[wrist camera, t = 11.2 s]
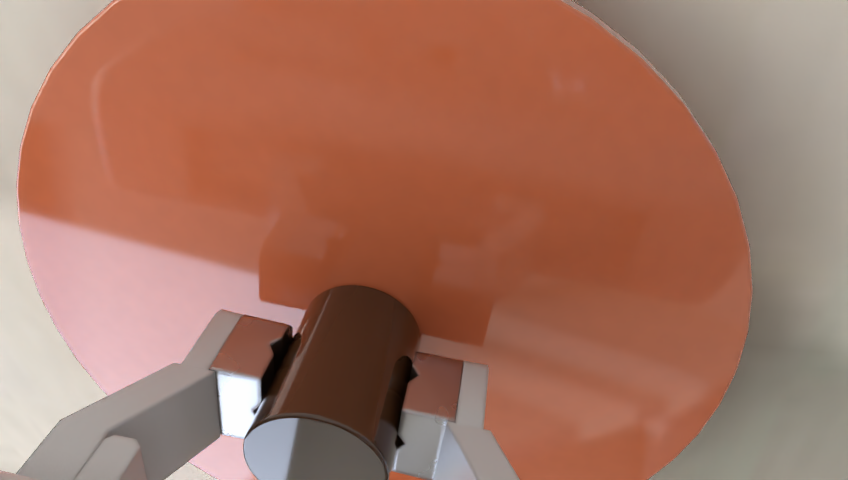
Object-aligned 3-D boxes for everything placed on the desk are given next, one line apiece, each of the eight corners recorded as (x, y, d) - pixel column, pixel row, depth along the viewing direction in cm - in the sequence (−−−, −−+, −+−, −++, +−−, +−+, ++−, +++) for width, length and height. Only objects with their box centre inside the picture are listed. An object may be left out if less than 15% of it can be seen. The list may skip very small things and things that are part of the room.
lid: (-34, -146, 10) (-373, -134, 7) (904, 16, 10) (1153, 140, 6) (109, 437, 19) (1, 589, 15) (605, 547, 18) (623, 737, 15)
